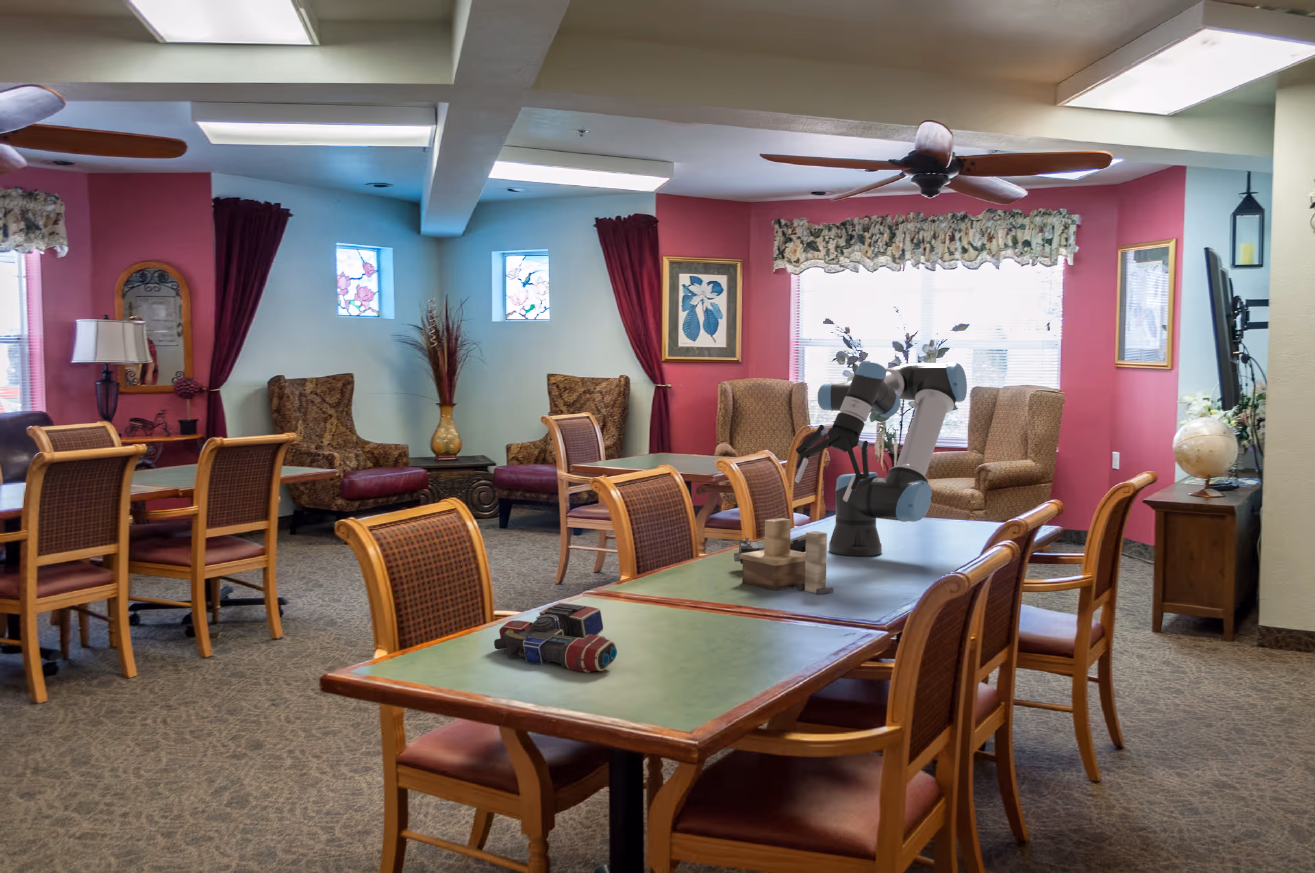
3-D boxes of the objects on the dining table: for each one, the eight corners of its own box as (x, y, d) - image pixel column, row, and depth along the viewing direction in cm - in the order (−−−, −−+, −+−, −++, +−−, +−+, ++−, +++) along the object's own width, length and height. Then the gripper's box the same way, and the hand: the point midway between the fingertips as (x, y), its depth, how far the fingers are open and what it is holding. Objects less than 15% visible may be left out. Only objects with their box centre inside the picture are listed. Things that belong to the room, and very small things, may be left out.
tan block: (814, 588, 238) (815, 531, 237) (825, 591, 235) (827, 532, 235) (804, 590, 236) (805, 532, 235) (816, 593, 233) (817, 534, 232)
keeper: (801, 585, 242) (801, 580, 242) (833, 592, 235) (833, 587, 235) (787, 587, 239) (787, 582, 239) (819, 594, 231) (819, 589, 231)
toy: (814, 574, 256) (815, 535, 255) (734, 572, 256) (735, 534, 256) (810, 569, 263) (811, 531, 262) (733, 567, 263) (733, 530, 263)
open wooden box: (778, 576, 253) (778, 552, 252) (811, 583, 244) (811, 559, 244) (742, 582, 244) (742, 558, 244) (775, 590, 236) (775, 565, 236)
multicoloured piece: (592, 652, 165) (653, 601, 182) (478, 634, 178) (545, 588, 195) (600, 694, 167) (659, 640, 184) (486, 673, 180) (551, 625, 197)
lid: (778, 552, 253) (779, 514, 253) (814, 559, 244) (815, 520, 243) (739, 558, 244) (740, 519, 244) (775, 565, 235) (776, 525, 234)
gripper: (805, 397, 261) (774, 471, 259) (895, 429, 251) (863, 505, 249) (811, 406, 268) (780, 477, 266) (898, 436, 258) (867, 511, 256)
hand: (820, 491), depth 257 cm, fingers open, 13 cm apart
